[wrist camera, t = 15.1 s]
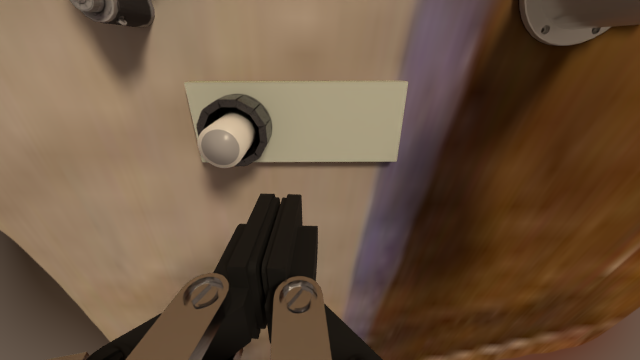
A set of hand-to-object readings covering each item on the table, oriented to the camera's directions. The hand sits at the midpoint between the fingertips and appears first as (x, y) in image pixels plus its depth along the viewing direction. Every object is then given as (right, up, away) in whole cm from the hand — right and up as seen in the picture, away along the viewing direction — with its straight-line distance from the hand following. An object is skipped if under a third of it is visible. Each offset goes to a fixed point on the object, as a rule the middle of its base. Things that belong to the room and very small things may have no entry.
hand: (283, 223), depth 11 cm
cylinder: (-8, +8, +20) cm, 23 cm away
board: (-1, +9, +22) cm, 24 cm away
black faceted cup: (-8, +9, +21) cm, 24 cm away
